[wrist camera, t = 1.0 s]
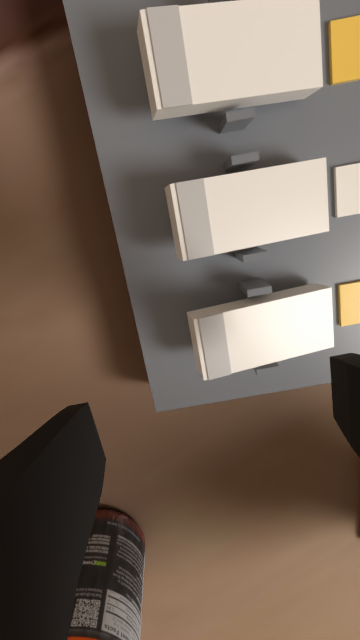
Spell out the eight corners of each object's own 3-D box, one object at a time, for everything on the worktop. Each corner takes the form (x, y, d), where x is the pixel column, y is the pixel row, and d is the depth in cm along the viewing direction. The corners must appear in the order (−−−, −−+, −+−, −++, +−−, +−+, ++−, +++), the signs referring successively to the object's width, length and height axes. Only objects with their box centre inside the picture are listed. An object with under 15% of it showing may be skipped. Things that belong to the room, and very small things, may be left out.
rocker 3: (314, 282, 15) (332, 287, 14) (318, 338, 16) (335, 347, 15) (186, 312, 14) (193, 320, 13) (196, 369, 15) (204, 381, 14)
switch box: (351, -34, 14) (435, -149, 10) (359, 349, 20) (416, 390, 15) (79, 22, 15) (38, -66, 10) (158, 384, 20) (154, 434, 15)
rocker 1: (299, 14, 12) (320, -9, 11) (304, 98, 13) (324, 85, 12) (136, 31, 11) (139, 8, 10) (152, 120, 12) (157, 108, 11)
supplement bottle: (83, 579, 25) (17, 864, 14) (45, 520, 23) (-66, 792, 12) (160, 554, 24) (152, 829, 13) (126, 492, 22) (86, 750, 12)
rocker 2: (308, 163, 14) (327, 156, 12) (312, 230, 14) (330, 231, 13) (164, 187, 13) (170, 183, 12) (177, 258, 14) (183, 261, 12)
